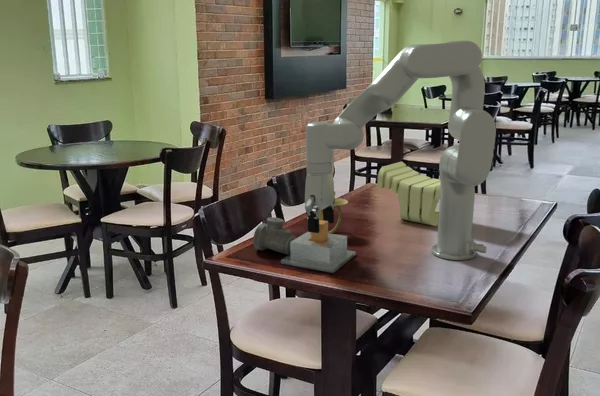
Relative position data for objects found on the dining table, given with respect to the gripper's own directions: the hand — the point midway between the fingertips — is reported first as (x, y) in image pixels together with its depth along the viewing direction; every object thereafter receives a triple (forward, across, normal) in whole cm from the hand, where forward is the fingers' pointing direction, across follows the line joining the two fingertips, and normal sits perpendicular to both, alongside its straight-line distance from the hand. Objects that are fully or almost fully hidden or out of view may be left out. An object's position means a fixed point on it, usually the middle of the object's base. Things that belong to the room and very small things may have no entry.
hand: (321, 227), depth 163 cm
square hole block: (+9, 0, -1) cm, 9 cm away
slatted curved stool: (+11, -52, +15) cm, 56 cm away
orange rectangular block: (+8, 0, 0) cm, 8 cm away
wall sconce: (+10, -22, -8) cm, 25 cm away
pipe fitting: (+9, 0, -15) cm, 17 cm away
